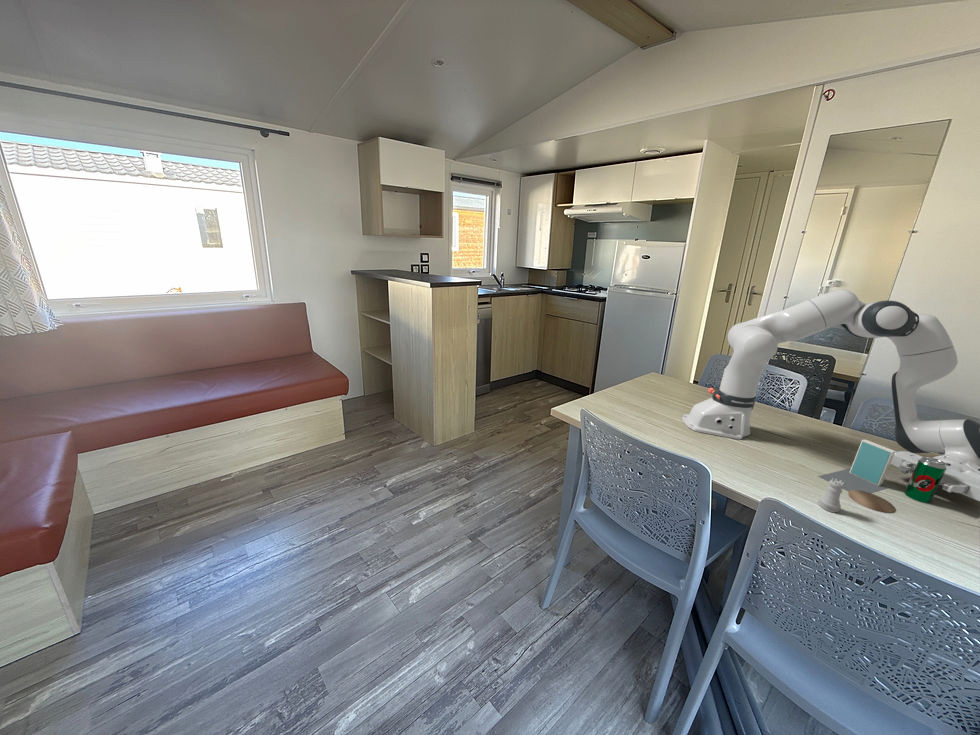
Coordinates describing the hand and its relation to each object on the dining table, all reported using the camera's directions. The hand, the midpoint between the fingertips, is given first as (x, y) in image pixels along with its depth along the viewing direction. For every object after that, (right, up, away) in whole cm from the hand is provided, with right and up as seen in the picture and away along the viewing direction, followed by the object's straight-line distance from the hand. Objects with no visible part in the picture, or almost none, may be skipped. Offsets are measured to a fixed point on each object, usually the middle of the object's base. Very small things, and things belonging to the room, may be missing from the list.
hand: (923, 478), depth 102 cm
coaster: (-15, -6, -1) cm, 16 cm away
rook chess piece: (-29, -7, -3) cm, 30 cm away
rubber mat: (-11, -4, +8) cm, 14 cm away
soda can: (+1, -6, +2) cm, 7 cm away
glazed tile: (-6, -3, +10) cm, 12 cm away
